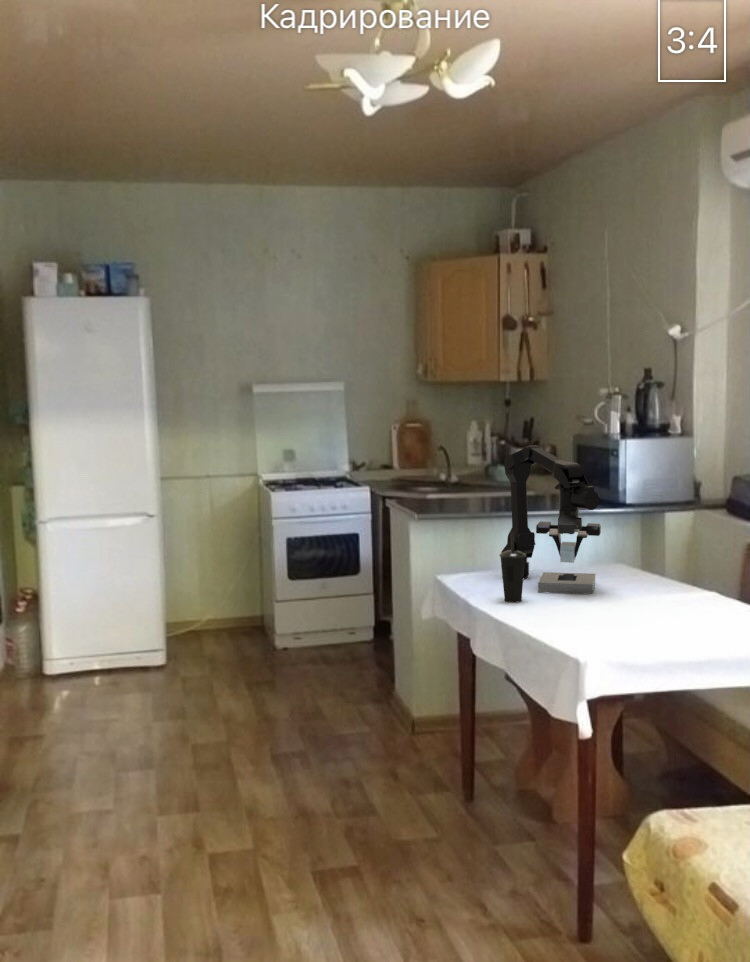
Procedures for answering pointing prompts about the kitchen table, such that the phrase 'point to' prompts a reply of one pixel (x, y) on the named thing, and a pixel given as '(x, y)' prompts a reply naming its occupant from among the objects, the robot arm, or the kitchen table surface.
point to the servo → (567, 552)
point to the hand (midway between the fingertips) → (568, 556)
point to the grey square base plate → (567, 583)
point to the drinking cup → (512, 573)
